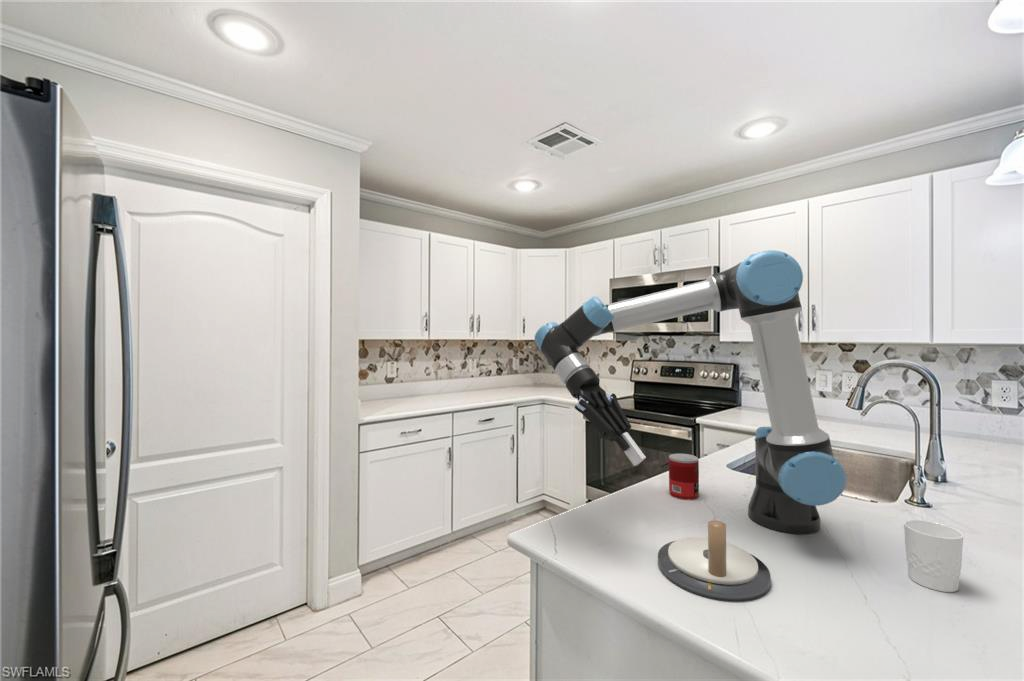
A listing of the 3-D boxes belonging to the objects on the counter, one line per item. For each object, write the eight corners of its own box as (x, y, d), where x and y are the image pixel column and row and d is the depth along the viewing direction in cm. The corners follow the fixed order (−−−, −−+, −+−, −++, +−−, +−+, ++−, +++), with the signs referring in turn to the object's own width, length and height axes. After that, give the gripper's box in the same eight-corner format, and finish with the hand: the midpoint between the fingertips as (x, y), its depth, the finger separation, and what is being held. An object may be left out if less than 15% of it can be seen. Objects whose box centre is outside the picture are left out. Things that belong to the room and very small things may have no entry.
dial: (686, 534, 97) (685, 490, 97) (767, 559, 86) (767, 509, 86) (654, 563, 85) (654, 512, 85) (744, 595, 74) (744, 537, 74)
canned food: (701, 500, 121) (701, 461, 121) (671, 499, 123) (671, 460, 123) (695, 491, 129) (695, 453, 128) (667, 489, 130) (666, 452, 130)
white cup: (892, 571, 84) (892, 520, 84) (930, 569, 85) (929, 518, 85) (935, 596, 76) (935, 539, 76) (976, 593, 77) (976, 537, 77)
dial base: (746, 548, 94) (746, 540, 94) (791, 605, 74) (790, 596, 74) (650, 543, 97) (650, 535, 97) (668, 596, 77) (668, 587, 77)
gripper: (587, 384, 110) (646, 464, 98) (550, 389, 101) (610, 478, 89) (603, 364, 106) (668, 445, 93) (567, 368, 97) (632, 458, 85)
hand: (640, 461), depth 91 cm, fingers closed
